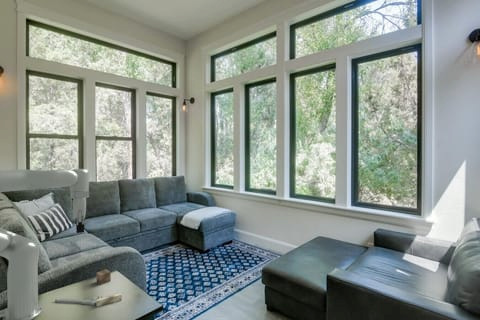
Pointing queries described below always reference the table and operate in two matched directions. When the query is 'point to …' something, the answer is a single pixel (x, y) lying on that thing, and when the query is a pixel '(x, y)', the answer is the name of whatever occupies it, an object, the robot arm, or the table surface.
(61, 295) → the table surface
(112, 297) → the rail
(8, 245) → the robot arm
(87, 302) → the caliper
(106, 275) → the walnut block
